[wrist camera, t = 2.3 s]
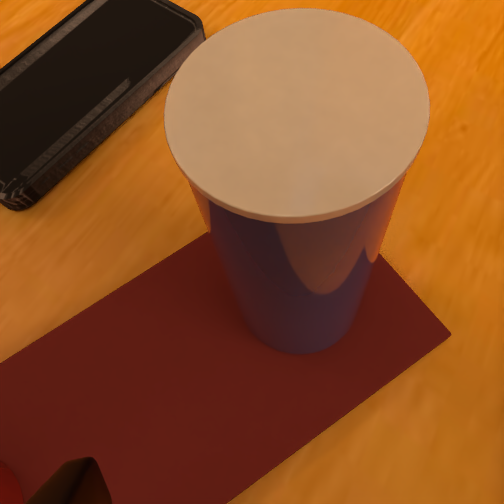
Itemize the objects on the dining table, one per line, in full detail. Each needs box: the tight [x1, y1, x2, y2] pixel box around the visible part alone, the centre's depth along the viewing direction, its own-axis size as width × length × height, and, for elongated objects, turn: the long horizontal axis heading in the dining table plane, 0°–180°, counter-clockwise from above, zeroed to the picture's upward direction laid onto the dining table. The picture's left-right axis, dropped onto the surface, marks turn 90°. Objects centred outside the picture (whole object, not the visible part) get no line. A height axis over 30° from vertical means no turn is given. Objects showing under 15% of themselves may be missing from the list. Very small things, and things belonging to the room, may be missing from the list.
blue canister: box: [164, 8, 430, 354], centre depth 15 cm, size 5×5×12 cm
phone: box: [0, 0, 206, 210], centre depth 27 cm, size 8×1×15 cm
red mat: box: [0, 232, 451, 504], centre depth 20 cm, size 24×10×1 cm, turn 124°
